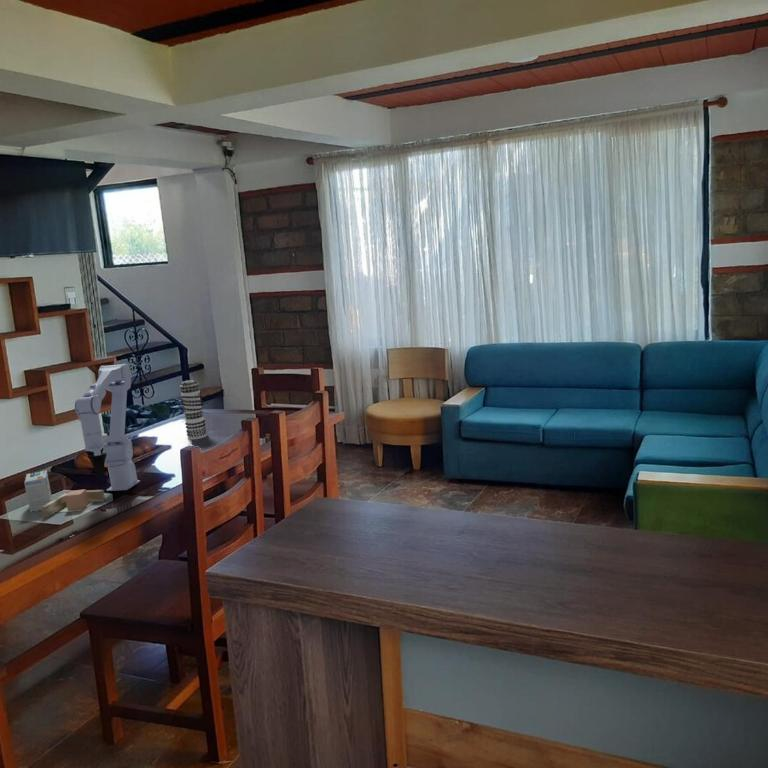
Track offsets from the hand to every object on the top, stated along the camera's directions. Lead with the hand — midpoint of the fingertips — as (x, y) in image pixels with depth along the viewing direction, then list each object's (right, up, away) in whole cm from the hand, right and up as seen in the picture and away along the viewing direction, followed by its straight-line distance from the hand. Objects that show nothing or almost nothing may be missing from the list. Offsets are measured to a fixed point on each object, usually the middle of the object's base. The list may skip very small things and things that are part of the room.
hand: (99, 472), depth 247 cm
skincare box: (-17, -3, +50) cm, 53 cm away
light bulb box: (-21, -12, +5) cm, 25 cm away
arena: (-7, -11, -1) cm, 14 cm away
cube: (-7, -11, -1) cm, 13 cm away
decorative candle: (+12, +6, +80) cm, 82 cm away
